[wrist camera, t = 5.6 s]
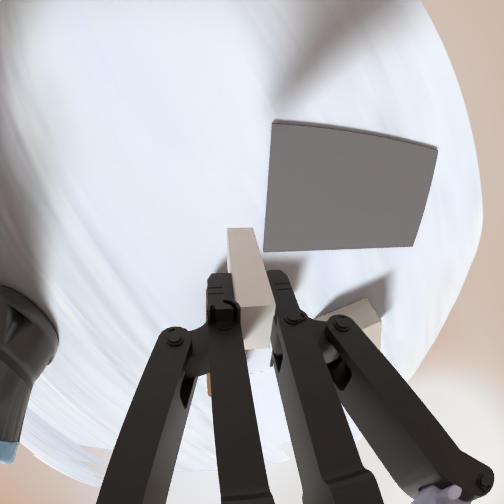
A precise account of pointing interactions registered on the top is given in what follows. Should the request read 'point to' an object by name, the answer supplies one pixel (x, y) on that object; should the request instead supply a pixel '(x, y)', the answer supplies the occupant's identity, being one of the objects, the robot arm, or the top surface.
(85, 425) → the top surface
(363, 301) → the smooth beige box
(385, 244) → the charcoal mat
